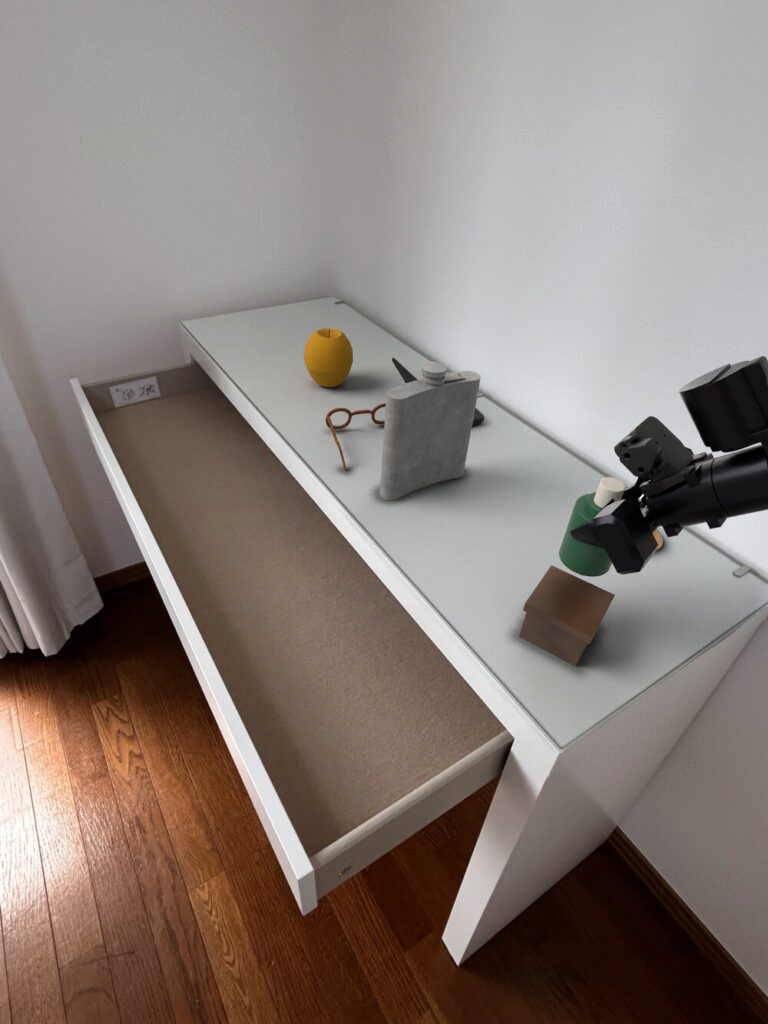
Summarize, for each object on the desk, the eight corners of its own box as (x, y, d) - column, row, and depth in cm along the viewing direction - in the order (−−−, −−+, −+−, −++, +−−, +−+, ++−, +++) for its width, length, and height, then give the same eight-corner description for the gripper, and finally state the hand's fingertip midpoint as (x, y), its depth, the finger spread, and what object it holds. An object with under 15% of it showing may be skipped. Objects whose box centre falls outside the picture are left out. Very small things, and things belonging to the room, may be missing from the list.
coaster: (663, 533, 86) (664, 531, 86) (659, 557, 82) (660, 555, 81) (623, 520, 88) (624, 518, 88) (617, 542, 84) (618, 540, 83)
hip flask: (386, 502, 88) (396, 383, 75) (373, 488, 90) (379, 371, 78) (467, 474, 95) (488, 361, 82) (452, 462, 97) (470, 351, 85)
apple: (310, 398, 112) (309, 340, 104) (299, 376, 119) (297, 321, 111) (358, 393, 115) (360, 336, 107) (344, 372, 122) (345, 317, 114)
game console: (486, 424, 108) (495, 380, 102) (422, 436, 103) (427, 391, 97) (446, 388, 119) (452, 346, 113) (387, 397, 114) (390, 354, 108)
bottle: (616, 555, 68) (648, 481, 61) (601, 584, 64) (633, 509, 57) (568, 535, 71) (594, 461, 64) (551, 562, 67) (576, 487, 60)
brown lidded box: (600, 627, 71) (615, 594, 67) (577, 670, 66) (592, 637, 62) (540, 597, 74) (551, 564, 70) (514, 636, 69) (524, 603, 65)
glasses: (394, 423, 106) (395, 399, 103) (417, 462, 97) (420, 437, 94) (325, 431, 103) (324, 406, 100) (342, 472, 93) (343, 446, 90)
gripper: (722, 378, 58) (591, 430, 70) (649, 446, 46) (508, 494, 59) (768, 475, 59) (630, 509, 71) (707, 564, 47) (557, 586, 60)
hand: (585, 521), depth 65 cm, fingers closed on bottle, 6 cm apart
